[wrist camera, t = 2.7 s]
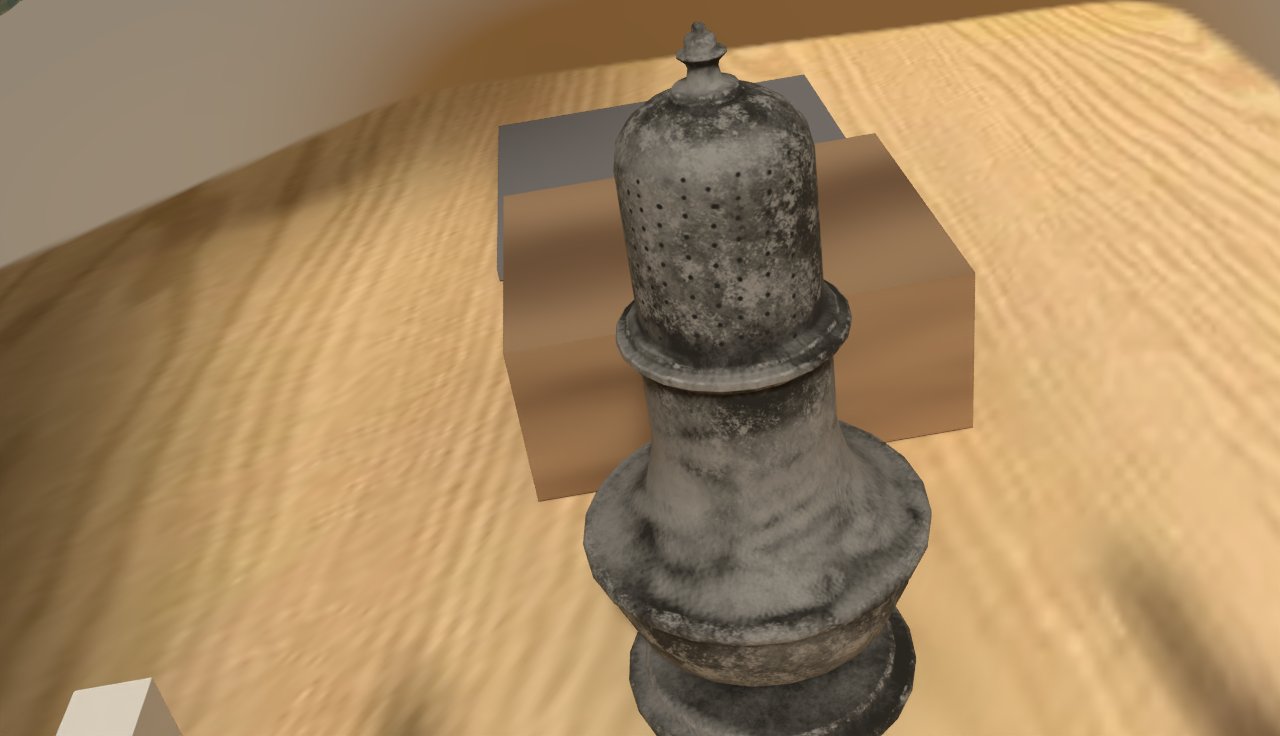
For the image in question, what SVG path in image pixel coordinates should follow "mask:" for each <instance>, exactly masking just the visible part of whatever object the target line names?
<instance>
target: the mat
mask: <svg viewBox="0 0 1280 736" xmlns="http://www.w3.org/2000/svg"><path fill="white" fill-rule="evenodd" d="M756 84H758V85H761V86H763V87H765V88H768V89H770V90H772V91H774V92H777V93H779V94H781V95H783V96H785V97H786V98H787V99H788V100H789V101H791V102H792V103H793V104H794V105H795V107H796V108H797V109H798V110H799V111H800V112H801V113H802V114H803V115H804V116H805V117H806V119H807V122H808V125H809V128H810V132H811V135H812V138H813V142H814V144H815V143H821V142H827V141H833V140H839V139H845V136H844V135H843V133H842V132H841V130H840V129H839V127H838V126H837V124H836V122H835V121H834V119H833V118H832V116H831V115H830V113H829V112H828V110H827V109H826V107H825V106H824V104H823V103H822V101H821V100H820V98H819V96H818V95H817V93H816V92H815V90H814V89H813V87H812V86H811V84H810V83H809V81H808V80H807V78H806V77H805V75H799V76H793V77H787V78H781V79H775V80H769V81H763V82H757V83H756ZM646 102H647V101H645V102H639V103H633V104H627V105H621V106H615V107H610V108H604V109H598V110H592V111H586V112H580V113H574V114H568V115H562V116H556V117H550V118H545V119H539V120H533V121H527V122H521V123H515V124H509V125H503V126H499V153H498V237H497V271H498V275H499V279H500V280H503V229H504V196H508V195H514V194H520V193H526V192H532V191H538V190H544V189H550V188H556V187H561V186H567V185H573V184H579V183H585V182H591V181H597V180H603V179H609V178H614V172H613V167H614V153H615V140H616V139H617V137H618V135H619V133H620V131H621V129H622V128H623V126H624V124H625V122H626V121H627V119H628V118H629V117H630V115H631V114H632V113H633V112H634V111H636V110H637V109H638V108H639V107H641V106H642V105H643V104H644V103H646Z"/></svg>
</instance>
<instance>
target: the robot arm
mask: <svg viewBox="0 0 1280 736" xmlns="http://www.w3.org/2000/svg"><path fill="white" fill-rule="evenodd" d="M19 1H22V0H0V15H3V14H4V13H6V12H7V11H9V10H10V9H12V8H13V7H14V6H15V5H16V4H17V3H19ZM56 736H182V734H181V733H180V731H179V729H178V727H177V725H176V723H175V721H174V719H173V717H172V715H171V713H170V711H169V709H168V707H167V705H166V703H165V701H164V700H163V698H162V696H161V694H160V692H159V690H158V688H157V686H156V684H155V682H154V680H153V678H152V677H151V678H146V679H140V680H134V681H128V682H123V683H117V684H111V685H105V686H100V687H94V688H88V689H82V690H77V691H74V693H73V695H72V698H71V700H70V702H69V705H68V707H67V710H66V712H65V715H64V717H63V719H62V722H61V724H60V727H59V729H58V732H57V734H56Z"/></svg>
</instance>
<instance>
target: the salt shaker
mask: <svg viewBox="0 0 1280 736" xmlns="http://www.w3.org/2000/svg"><path fill="white" fill-rule="evenodd" d="M691 31H692V32H689V33H688V34H687V35H686V36H685V37H684V47H683V48H681V49H680V50H679V51H678V52H676V59H678V60H679V61H681V62H683V63H684V64H685V65H686V67H687V77H685V78H683V79H681V80H679V81H677V82H676V83H675V84H674V85H673V86H672V88H670V89H667V90H665V91H663V92H661V93H659V94H657V95H655V96H654V97H652V98H651V99H650V100H648V101H647V102H646V103H644V104H643V105H642V106H641V107H639V108H638V109H637V110H636V111H634V112H633V113H632V114H631V115H630V117H629V118H628V119H627V121H626V122H625V124H624V126H623V128H622V129H621V131H620V133H619V135H618V137H617V139H616V140H615V153H614V167H613V172H614V178H615V184H616V190H617V196H618V202H619V209H620V215H621V221H622V227H623V233H624V239H625V245H626V251H627V257H628V264H629V270H630V276H631V282H632V288H633V294H634V300H633V301H632V302H631V303H630V304H629V305H628V306H627V307H626V308H625V309H624V311H623V313H622V315H621V317H620V318H619V320H618V322H617V324H616V345H617V347H618V349H619V351H620V353H621V355H622V358H623V360H624V361H625V362H627V363H628V364H629V365H630V366H631V367H632V368H633V369H635V370H636V371H637V372H638V373H639V374H641V375H642V379H643V385H644V391H645V397H646V403H647V409H648V415H649V421H650V427H651V433H652V440H651V441H649V442H648V443H647V444H645V445H644V446H642V447H641V448H639V449H638V450H636V451H635V452H634V453H632V454H631V455H629V456H628V457H626V458H625V459H624V460H623V461H622V462H621V463H620V464H619V465H618V466H617V467H616V468H615V469H614V471H613V472H612V473H611V474H610V475H609V476H608V477H607V478H606V479H605V480H604V482H603V483H602V484H601V485H600V486H599V488H598V490H597V492H596V494H595V496H594V498H593V500H592V502H591V505H590V507H589V509H588V511H587V513H586V518H585V529H584V540H583V545H584V549H585V552H586V555H587V559H588V562H589V565H590V568H591V571H592V575H593V577H594V579H595V580H596V581H597V582H598V584H599V585H600V586H601V587H602V589H603V590H604V591H605V592H606V594H607V595H608V596H609V597H610V599H611V600H612V601H613V602H614V604H616V605H617V606H619V608H620V609H621V611H622V612H623V613H624V614H625V616H626V617H627V618H628V619H629V621H630V622H631V623H632V624H633V626H634V627H635V628H636V629H637V631H638V633H637V635H636V638H635V641H634V643H633V646H632V649H631V651H630V674H629V680H630V685H631V688H632V691H633V694H634V697H635V701H636V704H637V707H638V710H639V712H640V714H641V715H642V716H643V718H644V719H645V720H646V722H647V723H648V724H649V726H650V727H651V729H652V730H653V731H654V733H655V734H656V735H657V736H881V735H882V734H883V733H884V732H885V731H886V730H887V729H888V728H889V727H890V726H891V725H892V724H893V723H894V722H895V721H896V720H897V719H898V717H899V715H900V713H901V711H902V709H903V707H904V705H905V703H906V702H907V700H908V698H909V696H910V694H911V692H912V688H913V680H914V672H915V664H916V655H915V650H914V646H913V642H912V637H911V633H910V629H909V627H908V625H907V624H906V622H905V620H904V619H903V617H902V616H901V614H900V612H899V611H898V609H897V608H896V604H897V602H898V600H899V598H900V597H901V595H902V593H903V591H904V589H905V588H906V586H907V584H908V581H909V579H910V578H911V576H912V574H913V572H914V571H915V569H916V567H917V565H918V563H919V562H920V560H921V558H922V556H923V554H924V553H925V551H926V549H927V547H928V539H929V531H930V524H931V508H930V505H929V501H928V498H927V494H926V491H925V487H924V483H923V481H922V480H921V479H920V477H919V476H918V475H917V473H916V472H915V471H914V469H913V468H912V467H911V465H910V464H909V463H908V461H907V460H906V459H905V457H904V456H902V455H901V454H900V453H898V452H897V451H896V450H894V449H893V448H891V447H890V446H889V445H887V444H886V443H885V442H883V441H882V440H881V439H879V438H878V437H877V436H875V435H873V434H871V433H869V432H866V431H864V430H862V429H859V428H857V427H855V426H852V425H850V424H848V423H845V422H843V421H841V420H838V418H837V406H836V390H835V373H834V357H833V355H835V354H836V352H837V351H838V350H839V348H840V347H841V346H842V345H843V343H844V342H845V341H846V339H847V338H848V335H849V331H850V327H851V323H852V315H851V311H850V307H849V304H848V300H847V299H846V298H845V297H844V295H843V294H842V293H841V292H840V291H839V290H838V289H837V287H836V286H834V285H833V284H831V283H829V282H828V281H826V280H824V279H823V263H822V248H821V232H820V216H819V200H818V185H817V169H816V153H815V145H814V142H813V138H812V135H811V132H810V128H809V125H808V122H807V119H806V117H805V116H804V115H803V114H802V113H801V112H800V111H799V110H798V109H797V108H796V107H795V105H794V104H793V103H792V102H791V101H789V100H788V99H787V98H786V97H785V96H783V95H781V94H779V93H777V92H774V91H772V90H770V89H768V88H765V87H763V86H761V85H758V84H756V83H752V82H747V81H741V80H738V79H737V78H736V77H735V76H734V75H731V74H728V73H721V71H720V68H719V66H718V63H719V60H720V59H721V57H722V56H723V55H724V54H725V53H726V52H727V50H726V46H725V45H722V44H719V43H717V41H716V37H715V34H714V33H712V32H711V31H709V30H706V27H705V25H704V23H702V22H695V23H693V25H692V27H691Z"/></svg>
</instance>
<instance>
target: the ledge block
mask: <svg viewBox="0 0 1280 736" xmlns="http://www.w3.org/2000/svg"><path fill="white" fill-rule="evenodd" d="M814 145H815V153H816V169H817V185H818V200H819V216H820V232H821V248H822V263H823V279H824V280H826V281H828V282H829V283H831V284H833V285H834V286H836V287H837V289H838V290H839V291H840V292H841V293H842V294H843V295H844V297H845V298H846V299H847V300H848V304H849V307H850V311H851V315H852V323H851V327H850V331H849V335H848V338H847V339H846V341H845V342H844V343H843V345H842V346H841V347H840V348H839V350H838V351H837V352H836V354H835V355H833V357H834V373H835V390H836V406H837V418H838V420H841V421H843V422H845V423H848V424H850V425H852V426H855V427H857V428H859V429H862V430H864V431H866V432H869V433H871V434H873V435H875V436H877V437H878V438H879V439H881V440H882V441H883V442H888V441H894V440H900V439H905V438H911V437H917V436H923V435H929V434H935V433H940V432H946V431H952V430H958V429H964V428H970V427H973V387H974V320H975V272H974V271H973V269H972V268H971V266H970V265H969V264H968V262H967V261H966V259H965V258H964V257H963V255H962V254H961V253H960V251H959V250H958V248H957V247H956V246H955V244H954V243H953V241H952V240H951V239H950V237H949V236H948V234H947V233H946V232H945V230H944V229H943V227H942V226H941V225H940V223H939V222H938V220H937V219H936V218H935V216H934V215H933V213H932V212H931V211H930V209H929V208H928V206H927V205H926V204H925V202H924V201H923V199H922V198H921V197H920V195H919V194H918V192H917V191H916V190H915V188H914V187H913V185H912V184H911V183H910V181H909V180H908V178H907V177H906V176H905V174H904V173H903V172H902V170H901V169H900V167H899V166H898V165H897V163H896V162H895V160H894V159H893V158H892V156H891V155H890V153H889V152H888V151H887V149H886V148H885V146H884V145H883V144H882V142H881V141H880V139H879V138H878V137H877V135H876V134H875V133H874V134H868V135H863V136H857V137H851V138H845V139H839V140H833V141H827V142H821V143H815V144H814ZM633 300H634V294H633V288H632V282H631V276H630V270H629V264H628V257H627V251H626V245H625V239H624V233H623V227H622V221H621V215H620V209H619V202H618V196H617V190H616V184H615V178H609V179H603V180H597V181H591V182H585V183H579V184H573V185H567V186H561V187H556V188H550V189H544V190H538V191H532V192H526V193H520V194H514V195H508V196H504V229H503V355H504V359H505V363H506V367H507V371H508V375H509V380H510V384H511V388H512V392H513V396H514V401H515V405H516V409H517V413H518V417H519V421H520V426H521V430H522V434H523V438H524V442H525V447H526V451H527V455H528V459H529V463H530V468H531V472H532V476H533V480H534V484H535V488H536V493H537V497H538V501H543V500H549V499H554V498H560V497H566V496H572V495H578V494H584V493H589V492H595V491H597V490H598V488H599V486H600V485H601V484H602V483H603V482H604V480H605V479H606V478H607V477H608V476H609V475H610V474H611V473H612V472H613V471H614V469H615V468H616V467H617V466H618V465H619V464H620V463H621V462H622V461H623V460H624V459H625V458H626V457H628V456H629V455H631V454H632V453H634V452H635V451H636V450H638V449H639V448H641V447H642V446H644V445H645V444H647V443H648V442H649V441H651V440H652V433H651V427H650V421H649V415H648V409H647V403H646V397H645V391H644V385H643V379H642V375H641V374H639V373H638V372H637V371H636V370H635V369H633V368H632V367H631V366H630V365H629V364H628V363H627V362H625V361H624V360H623V358H622V355H621V353H620V351H619V349H618V347H617V345H616V324H617V322H618V320H619V318H620V317H621V315H622V313H623V311H624V309H625V308H626V307H627V306H628V305H629V304H630V303H631V302H632V301H633Z"/></svg>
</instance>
